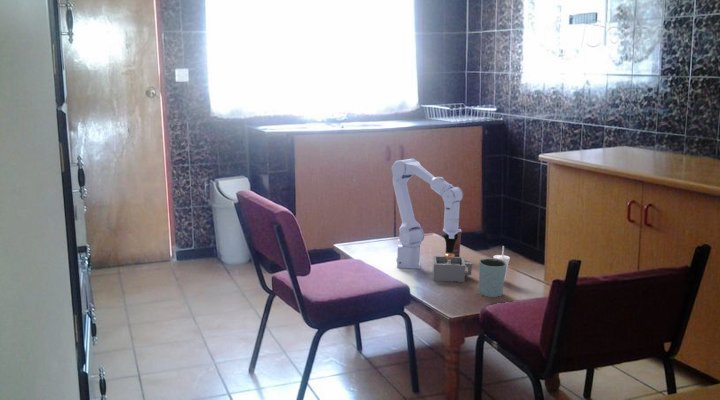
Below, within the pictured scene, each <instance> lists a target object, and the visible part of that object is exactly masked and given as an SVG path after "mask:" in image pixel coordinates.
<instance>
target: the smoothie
mask: <svg viewBox="0 0 720 400" xmlns="http://www.w3.org/2000/svg"><path fill="white" fill-rule="evenodd" d="M504 251H505V246H504V245H502V251H501V254H496V255H493V258H492V259H499V260H502V261H505V262H506V263H507V268H506V273H505V278H504V283H505V282H506V277H507V273H508V267H509V261H510V260H511V257H510V256H508V255H505V253H504Z"/></svg>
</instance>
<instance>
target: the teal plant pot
mask: <svg viewBox="0 0 720 400" xmlns="http://www.w3.org/2000/svg"><path fill="white" fill-rule="evenodd" d="M478 262H479V263H478V264H479V265H478V271H479V272H478V294H479V295H481V296H483V295H484V297H487V296H488V298H496V297H497V298H498V296H499V297H501V296H502V295H503V291H504V283H505V282H504V278H505V273H506V268H507V263H506V262H505V261H502V260H499V259H493V258H482V259H480V260H479V261H478ZM507 269H508V268H507ZM506 274H507V273H506ZM505 279H506V278H505Z"/></svg>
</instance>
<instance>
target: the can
mask: <svg viewBox="0 0 720 400" xmlns="http://www.w3.org/2000/svg"><path fill="white" fill-rule="evenodd" d="M458 229H461V232H458V233H457V234H458V238H457V240H456V242H455V245H454V249H453V252H452V254H454V255H455V256H454V257H461V256H460V253H461V238H462V237H461V236H462V232H463V231H462V227H461V225H459V226H458ZM446 253H447V249H446V248H445V253H444V254H446Z"/></svg>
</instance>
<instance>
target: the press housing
mask: <svg viewBox="0 0 720 400" xmlns="http://www.w3.org/2000/svg"><path fill="white" fill-rule="evenodd" d="M437 262H444V263H447V262H448V259H446V258H444V255H443V256H441V255H433V259H432V280H433V281H439V282H453V281H458V282H459V283H465V281H466V280H465V279H466V277H465V276H472V267H473V264H472V262H471V261H470V262H469V261H465V258H464V257H463V256H459V257H454V259H451V263H459V264H460V265H452V264H437ZM466 266H467V270H466ZM458 282H457V283H458Z"/></svg>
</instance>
